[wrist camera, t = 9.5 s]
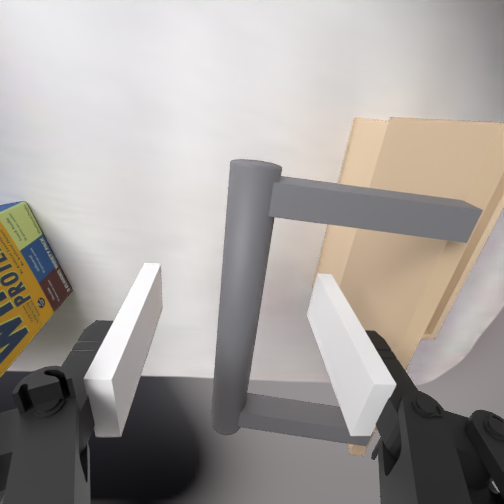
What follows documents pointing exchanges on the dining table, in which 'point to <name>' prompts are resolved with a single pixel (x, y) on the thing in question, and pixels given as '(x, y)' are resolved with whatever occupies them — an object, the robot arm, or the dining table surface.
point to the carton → (341, 238)
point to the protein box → (25, 281)
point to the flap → (354, 255)
